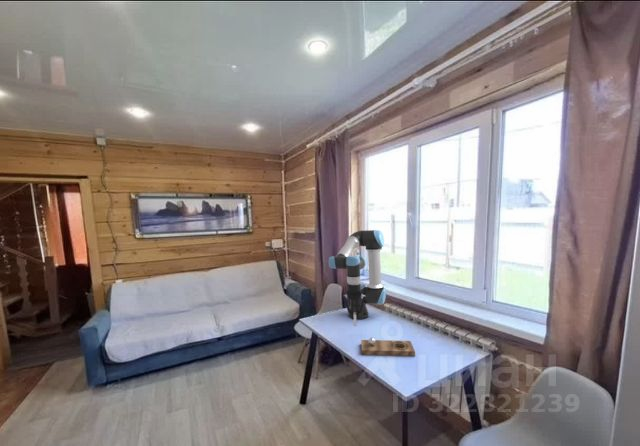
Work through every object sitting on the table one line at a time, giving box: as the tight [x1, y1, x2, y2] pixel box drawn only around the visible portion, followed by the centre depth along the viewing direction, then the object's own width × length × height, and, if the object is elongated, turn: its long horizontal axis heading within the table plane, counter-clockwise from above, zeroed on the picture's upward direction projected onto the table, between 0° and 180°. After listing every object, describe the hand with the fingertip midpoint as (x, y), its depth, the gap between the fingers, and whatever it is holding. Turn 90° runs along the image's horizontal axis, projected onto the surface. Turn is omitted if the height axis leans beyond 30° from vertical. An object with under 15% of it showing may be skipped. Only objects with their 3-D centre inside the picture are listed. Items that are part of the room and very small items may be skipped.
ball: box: [368, 337, 376, 346], centre depth 150 cm, size 4×4×4 cm
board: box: [360, 339, 416, 357], centre depth 149 cm, size 28×12×2 cm, turn 83°
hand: (355, 324), depth 151 cm, fingers closed
